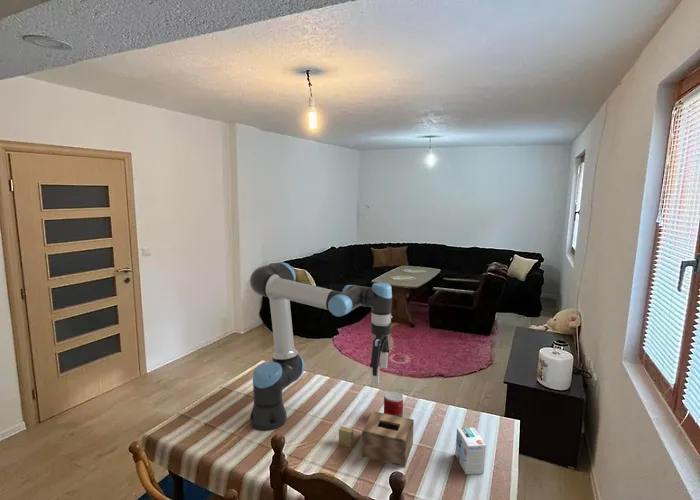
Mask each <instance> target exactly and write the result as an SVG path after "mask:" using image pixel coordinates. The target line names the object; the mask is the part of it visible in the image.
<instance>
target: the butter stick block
mask: <svg viewBox="0 0 700 500" xmlns="http://www.w3.org/2000/svg"><path fill="white" fill-rule="evenodd" d="M338 445H340V446H344V447H348V448H352V446H353V445H354V428H351V427H347V426H343V425H341V426H340V427H339V428H338Z"/></svg>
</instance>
